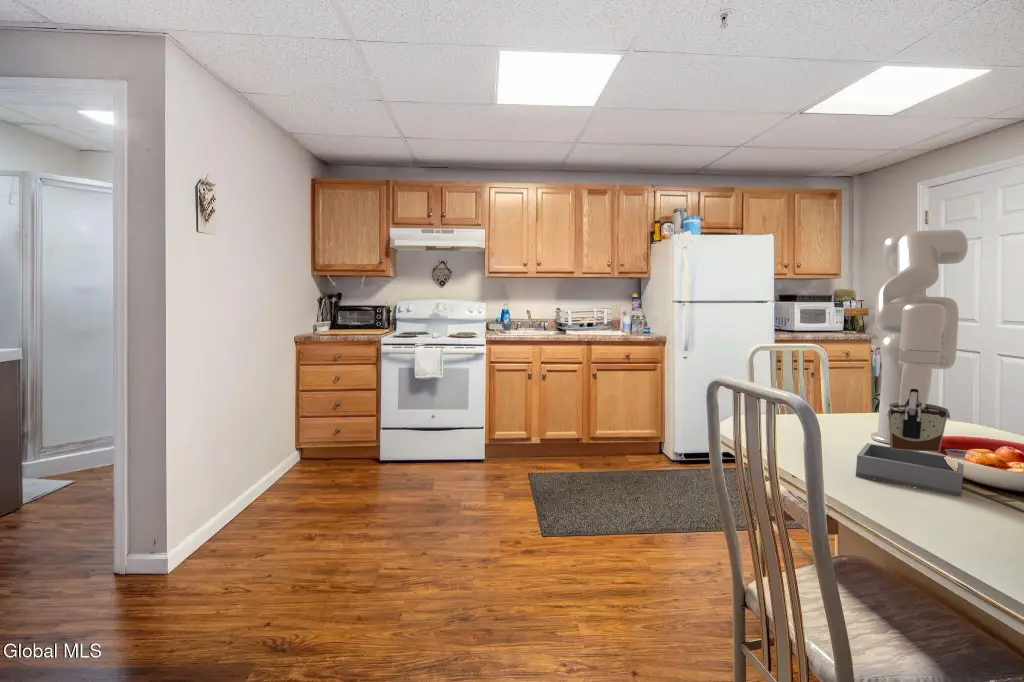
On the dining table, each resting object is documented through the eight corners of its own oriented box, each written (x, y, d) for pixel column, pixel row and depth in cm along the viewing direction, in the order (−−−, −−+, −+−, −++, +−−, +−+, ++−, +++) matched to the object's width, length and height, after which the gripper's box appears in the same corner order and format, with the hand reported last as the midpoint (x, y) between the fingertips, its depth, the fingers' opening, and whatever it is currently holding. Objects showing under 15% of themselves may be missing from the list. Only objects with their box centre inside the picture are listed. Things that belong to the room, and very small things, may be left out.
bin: (865, 462, 139) (867, 443, 138) (962, 479, 127) (964, 458, 126) (855, 476, 127) (857, 455, 127) (960, 496, 115) (963, 473, 115)
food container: (934, 443, 129) (938, 402, 127) (947, 452, 123) (951, 409, 121) (874, 440, 132) (877, 400, 131) (884, 449, 126) (887, 407, 125)
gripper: (902, 354, 134) (896, 426, 135) (894, 359, 121) (888, 439, 122) (941, 357, 129) (935, 431, 130) (937, 362, 116) (930, 445, 117)
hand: (912, 434), depth 126 cm, fingers closed on food container, 6 cm apart
